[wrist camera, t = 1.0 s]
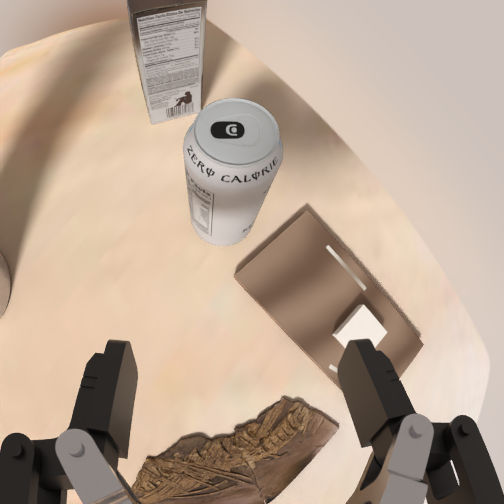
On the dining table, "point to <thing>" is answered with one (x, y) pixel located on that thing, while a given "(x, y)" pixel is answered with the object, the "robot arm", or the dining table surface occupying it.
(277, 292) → the walnut board
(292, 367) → the dining table surface
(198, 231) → the energy drink can
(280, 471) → the wooden fragment
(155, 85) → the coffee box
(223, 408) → the dining table surface
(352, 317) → the white square tile
